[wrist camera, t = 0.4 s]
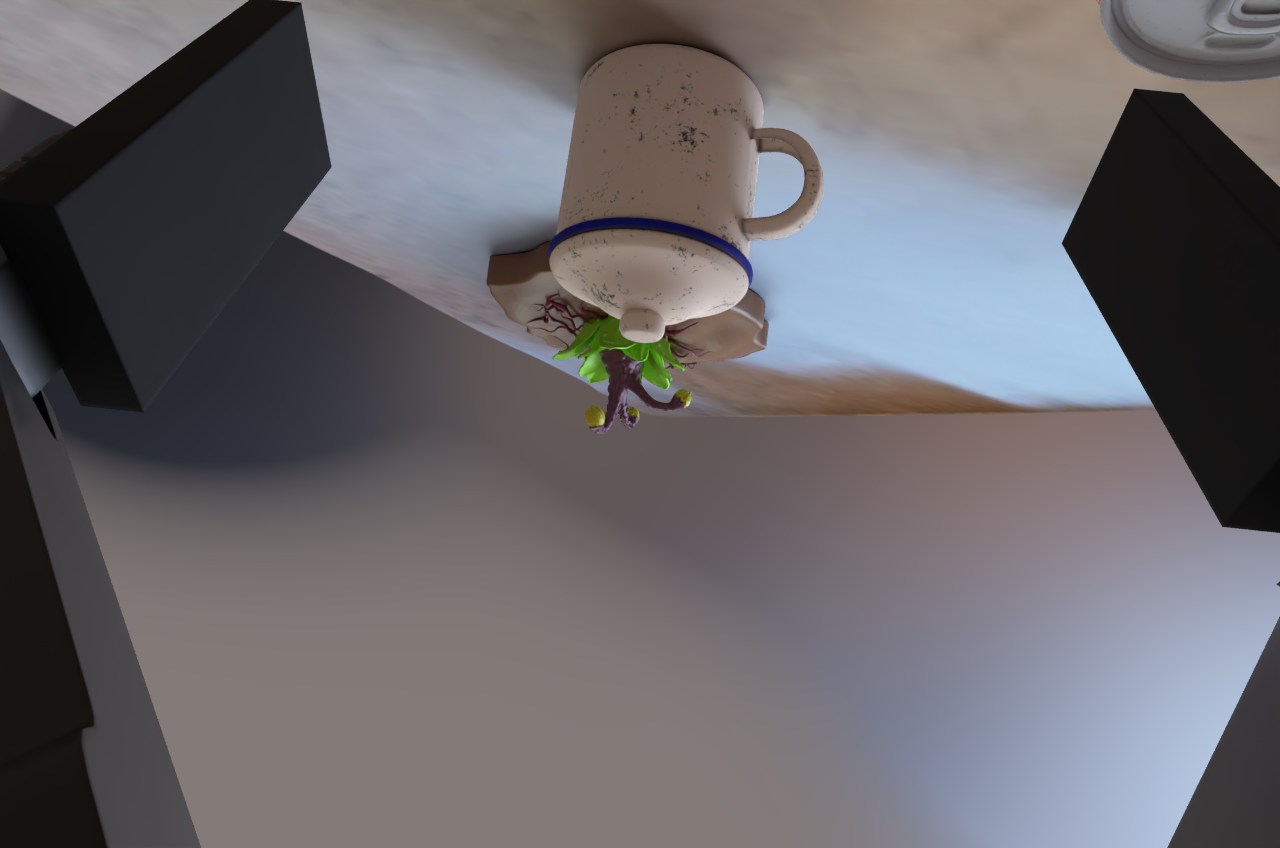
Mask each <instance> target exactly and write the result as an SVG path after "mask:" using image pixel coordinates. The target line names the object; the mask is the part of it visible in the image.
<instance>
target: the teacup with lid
mask: <svg viewBox="0 0 1280 848" xmlns="http://www.w3.org/2000/svg"><path fill="white" fill-rule="evenodd" d="M763 117H764V107H763V102H762V98H761V96H760V93H759V91H758V89H757V87H756V86H755V84H754V83H753V82H752V80H751V79H750V78H749V77H748V76H747V75H746V74H745V73H744V72H743V71H741V70H740V69H739V68H738V67H736V66H735V65H733V64H732V63H730V62H728V61H727V60H725V59H723V58H721V57H719V56H717V55H714V54H712V53H709V52H706V51H703V50H700V49H696V48H692V47H687V46H682V45H674V44H644V45H637V46H632V47H627V48H624V49H621V50H618V51H615V52H613V53H610V54H609V55H607V56H605V57H603V58H602V59H600V60H599V61H597V62H596V63H595V64H594V65H593V66H592V67H591V68H590V69H589V70H588V71H587V73H586V74H585V76H584V77H583V79H582V82H581V84H580V88H579V92H578V99H577V105H576V111H575V118H574V124H573V130H572V137H571V143H570V149H569V156H568V162H567V168H566V175H565V181H564V187H563V194H562V200H561V206H560V213H559V219H558V225H557V232H556V236H555V237H554V238H553V239H552V240H551V242H550V244H549V248H548V258H549V261H550V262H549V263H550V268H551V271H552V273H553V275H554V277H555V279H556V280H557V281H558V283H559V284H560V285H561V286H562V287H563V288H564V289H566V290H567V291H568V292H570V293H571V294H573V295H574V296H576V297H578V298H579V299H581V300H583V301H585V302H588V303H590V304H592V305H595V306H598V307H600V308H601V309H602V310H603V311H605V312H606V313H608V314H609V315H611V316H613V317H615V318H617V319H620V324H619V330H620V332H621V334H622V335H623V336H624V337H625V338H627V339H629V340H631V341H635V342H640V343H653V342H657V341H659V340H660V339H661V338H662V337H663V335H664V332H665V325H672V324H677V323H680V322H683V321H685V320H687V319H693V318H701V317H706V316H711V315H715V314H718V313H721V312H723V311H726V310H728V309H730V308H732V307H733V306H735V305H736V304H737V303H738V302H739V301H740V300H741V299H742V298H743V297H744V295H745V294H746V292H747V290H748V287H749V286H750V284H751V282H752V277H753V271H752V267H751V264H750V262H749V252H750V242H751V241H764V240H774V239H780V238H784V237H787V236H789V235H791V234H794V233H795V232H797V231H799V230H800V229H802V228H803V227H804V226H806V225H807V224H808V223H809V222H810V221H811V220H812V219H813V217H814V216H815V215H816V213H817V211H818V210H819V207H820V205H821V202H822V199H823V193H824V178H823V172H822V169H821V165H820V163H819V160H818V158H817V156H816V154H815V152H814V150H813V149H812V147H811V146H810V145H809V144H808V143H807V141H806V140H804V139H803V138H802V137H801V136H799V135H798V134H796V133H794V132H792V131H789V130H785V129H779V128H762V126H763ZM762 152H781V153H786V154H789V155H791V156H793V157H795V158H796V159H797V160H798V161H799V162H800V163H801V164H802V165H803V168H804V176H805V180H804V187H803V191H802V193H801V196H800V197H799V199H798V200H797V201H796V202H795V203H794V204H793V205H792V206H791V207H790V208H788V209H787V210H785V211H784V212H782V213H780V214H777V215H774V216H769V217H761V218H753V213H754V204H755V194H756V184H757V175H758V165H759V155H760V153H762Z"/></svg>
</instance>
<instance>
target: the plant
mask: <svg viewBox="0 0 1280 848" xmlns="http://www.w3.org/2000/svg"><path fill="white" fill-rule="evenodd" d="M549 244H550V242H546V243H544V244H542V245H540V246H539V247H538V248H536V249H535V250H533V251H531V252H526V253H520V254H510V255H499V256H491V257H490V260H489V268H488V275H487V285H488V287H489V288H490V291H491V294H492V295H493V297H494V298H495V300H496V301H497V302H498V303H499V304H500V306H501V307H502V308H503V310H504V311H505V314H506V316H507V317H508V318H509V319H511V320H512V321H514V322H516V323H518V324H521V325H523V326H526V327H527V332H528V333H530V334H532V335H536V336H538V337H540V338H542V339H544V340H545V341H546V342H547V344H548V345H551V346H553V347H556V348H561V349H564V351H559V353H558V354H556V355H554V356H553V359H554V360H555V359H557V360H565V359H570V358H572V357H574V356H576V355H578V354H579V356H578V359H582V358H584V357H585V358H586V359H585V361H584V363H583V365H582V366H581V368H580V369H579V376H586V377H587V379H588V381H589V382H590V383H595V382H600V381H604V380H606V379H608V378H609V383H610V385H609V386H608V392H609V396H608V400H609V402H608V405H607V412H606V414H605V415H604V412H603V411H602V410H601V409H600V408H599V407H598V406H591V407H590V408H589V409H588V410H586V412H585V419H586V423H587V424H588V425H589V427H590V429H592V430H593V431H595V433H597V434H598V433H599V434H603V433H605V432H606V431H609V430H610V427H611V426H612V423H613V421H614V418H616V417H617V416H618V414H620V416H621V417H620V419H621V422H622V423H623V424H624V426H625V427H626V428H628V429H630V428H633V427H634V426H635V425H636V424H637V423H638V420H639V418H640V416H639V411H638V410H637V409H636V408H633V407H630V408H627V405H628V404H627V393H628V390H627V389H629V390H631V391H632V392H634V393H635V394H636V395H637V396H638V397H639V398H640V399H641V401H643V402H644V403H645V404H647V406H648V407H652V408H653V409H658V410H662V411H667V410H672V411H674V410H676V411H677V410H679V409H684V408H685V407H687V406H688V405H689V404H690V402H691V391H687V390H684V389H681V390H678V391H677V392H676V393H675V394H674V396H673V398H672V400H671V401H670V402H669V403H662V402H659V401H656V400H654V399H653V398H652V397H651V396H650V395H649V394H648V393H647V392H646V391H645V389H644V388H643V386H642V385H641V383H642V382H641V379H642V376H643V377H644V378H645V379H647V380H648V381H649V382H650V383H652V384H654V385H656V386H659V387H661V388H663V389H665V390H666V389H668V388H669V386H670V384H669V381H668V379H669V380H672V376H671V374H670V373H669V372H668V371H667V369H668V368H670V367H671V368H672V369H675V368H677V369H680V370H685V367H686V365H687V366H689V365H691V364H694V365H695V364H700V363H703V362H719V361H723V360H727V359H734V358H741V357H744V356H747V355H749V354H751V353H753V352H756V351H760V350H763V349H765V348H766V343H767V335H768V322H767V321H765V320H764V314H765V302H764V300H763V299H762V298H761V297H760V296H759V295H757V294H756V293H754V292H752V291H751V290H750V289H749V288H748V290H747V292H746V294H745V295H744V297H743V298H742V299H741V300H740V301H739V302H738V303H737V304H736V305H735V306H733V307H732V308H730V309H728V310H726V311H723V312H721V313H718V314H715V315H711V316H706V317H701V318H693V319H687V320H685V321H683V322H680V323H677V324H672V325H665V332H664V335H663V337H662V338H661V339H660V340H659V341H657V342H653V343H640V342H635V341H631V340H629V339H627V338H625V337H624V336H623V335H622V334H621V332H620V330H619V324H620V319H617V318H615V317H613V316H611V315H609V314H608V313H606V312H605V311H603V310H602V309H601V308H600V307H598V306H595V305H592V304H590V303H588V302H585V301H583V300H581V299H579V298H578V297H576V296H574V295H573V294H571V293H570V292H568V291H567V290H566V289H564V288H563V287H562V286H561V285H560V284H559V283H558V281H557V280H556V279H555V277H554V275H553V273H552V271H551V268H550V263H549V262H550V261H549V258H548V248H549ZM689 367H690V366H689ZM690 368H691V367H690ZM693 368H694V367H693ZM693 368H691V369H693ZM667 378H668V379H667ZM618 411H619V412H618Z"/></svg>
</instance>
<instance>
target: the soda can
mask: <svg viewBox="0 0 1280 848" xmlns="http://www.w3.org/2000/svg"><path fill="white" fill-rule="evenodd" d="M1097 1H1098V3H1099V4H1100V12H1101V21H1102V25H1103V27H1104V30H1105V32H1106V35H1107V37H1108V39H1109V40H1110V42H1111V43H1112V44H1113V45H1114V47H1115V48H1116V49H1117V50H1118V52H1119V53H1120V54H1121V55H1123V56H1124V57H1125V58H1127V59H1128V60H1129V61H1130V62H1132V63H1133V64H1135V65H1137V66H1139V67H1141V68H1143V69H1145V70H1147V71H1149V72H1152V73H1155V74H1159V75H1162V76H1165V77H1169V78H1174V79H1180V80H1186V81H1193V82H1210V83H1226V82H1246V81H1255V80H1265V79H1272V78H1277V77H1280V0H1097Z"/></svg>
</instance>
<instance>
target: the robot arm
mask: <svg viewBox="0 0 1280 848" xmlns="http://www.w3.org/2000/svg"><path fill="white" fill-rule="evenodd" d="M330 168H331V162H330V157H329V152H328V146H327V141H326V135H325V130H324V124H323V119H322V114H321V108H320V103H319V97H318V92H317V86H316V81H315V76H314V70H313V65H312V59H311V54H310V48H309V43H308V38H307V32H306V27H305V21H304V16H303V10H302V5H301V3H299V2H289V1H279V0H249V1H248V2H246V3H245V4H244V5H242V6H241V7H239V8H238V9H237V10H235V11H234V12H233V13H231V14H230V15H228V16H227V17H226V18H224V19H223V20H222V21H220V22H219V23H217V24H216V25H215V26H213V27H212V28H211V29H209V30H208V31H206V32H205V33H204V34H202V35H201V36H200V37H198V38H197V39H196V40H194V41H193V42H191V43H190V44H189V45H187V46H186V47H185V48H183V49H182V50H180V51H179V52H178V53H176V54H175V55H174V56H172V57H171V58H169V59H168V60H167V61H165V62H164V63H163V64H161V65H160V66H159V67H157V68H156V69H154V70H153V71H152V72H150V73H149V74H148V75H146V76H145V77H143V78H142V79H141V80H139V81H138V82H137V83H135V84H134V85H132V86H131V87H130V88H128V89H127V90H126V91H124V92H123V93H122V94H120V95H119V96H117V97H116V98H115V99H113V100H112V101H111V102H109V103H108V104H106V105H105V106H104V107H102V108H101V109H100V110H98V111H97V112H95V113H94V114H93V115H91V116H90V117H89V118H87V119H86V120H85V121H83V122H82V123H80V124H79V125H78V126H76V127H75V128H72V129H70V130H67V131H64V132H62V133H59V134H57V135H54V136H52V137H49V138H47V139H45V140H44V141H43V142H41V143H40V144H38V145H37V146H35V147H34V148H33V149H31V150H30V151H28V152H27V153H26V154H24V155H23V156H21V161H15V162H13V163H12V164H10V165H9V166H8V167H6V168H5V169H3V170H2V171H1V172H0V848H201V846H200V843H199V840H198V837H197V834H196V831H195V829H194V825H193V822H192V820H191V817H190V814H189V811H188V808H187V805H186V802H185V799H184V796H183V793H182V790H181V787H180V784H179V781H178V778H177V775H176V772H175V769H174V766H173V764H172V760H171V757H170V755H169V752H168V748H167V745H166V742H165V740H164V737H163V734H162V731H161V728H160V725H159V722H158V719H157V716H156V713H155V710H154V707H153V704H152V701H151V698H150V695H149V692H148V689H147V686H146V683H145V680H144V677H143V674H142V672H141V669H140V665H139V662H138V660H137V657H136V654H135V651H134V648H133V645H132V642H131V639H130V636H129V633H128V630H127V627H126V624H125V621H124V618H123V615H122V612H121V609H120V607H119V603H118V600H117V598H116V594H115V592H114V589H113V585H112V583H111V580H110V577H109V574H108V571H107V568H106V565H105V562H104V559H103V556H102V553H101V550H100V547H99V544H98V541H97V538H96V535H95V532H94V529H93V527H92V524H91V520H90V517H89V514H88V511H87V509H86V506H85V503H84V500H83V497H82V494H81V491H80V488H79V485H78V482H77V479H76V476H75V473H74V470H73V467H72V464H71V461H70V458H69V456H68V452H67V449H66V446H65V443H64V441H63V438H62V435H61V432H60V429H59V426H58V423H57V420H56V417H55V414H54V411H53V409H52V408H51V405H50V404H49V402H48V400H47V398H46V396H45V394H44V392H43V390H42V388H43V387H44V386H45V385H46V384H47V382H49V380H50V379H51V378H52V377H53V376H54V375H55V374H56V373H57V372H58V371H59V370H60V369H61V368H62V369H63V371H64V373H65V375H66V377H67V379H68V381H69V383H70V385H71V387H72V388H73V391H74V393H75V395H76V397H77V399H78V401H79V403H80V404H81V406H88V407H98V408H107V409H117V410H126V411H136V412H144V411H145V410H146V408H147V407H148V406H149V404H150V403H151V402H152V400H153V399H154V398H155V396H156V395H157V394H158V393H159V391H160V390H161V389H162V387H163V386H164V385H165V384H166V382H167V381H168V380H169V378H170V377H171V376H172V374H173V373H174V372H175V370H176V369H177V368H178V366H179V365H180V364H181V363H182V361H183V360H184V359H185V357H186V356H187V355H188V354H189V352H190V351H191V350H192V348H193V347H194V346H195V344H196V343H197V342H198V341H199V339H200V338H201V337H202V335H203V334H204V333H205V331H206V330H207V329H208V327H209V326H210V325H211V324H212V322H213V321H214V320H215V318H216V317H217V316H218V314H219V313H220V312H221V310H222V309H223V308H224V307H225V305H226V304H227V303H228V301H229V300H230V299H231V298H232V296H233V295H234V294H235V292H236V291H237V290H238V288H239V287H240V286H241V284H242V283H243V282H244V281H245V279H246V278H247V277H248V275H249V274H250V273H251V271H252V270H253V269H254V267H255V266H256V265H257V264H258V262H259V261H260V260H261V258H262V257H263V256H264V254H265V253H266V252H267V250H268V249H269V248H270V247H271V245H272V244H273V243H274V241H275V240H276V239H277V237H278V236H279V235H280V234H281V232H282V231H283V230H284V228H285V227H286V226H287V225H288V223H289V222H290V221H291V219H292V218H293V217H294V215H295V214H296V213H297V211H298V210H299V209H300V208H301V206H302V205H303V204H304V202H305V201H306V200H307V198H308V197H309V196H310V195H311V193H312V192H313V191H314V189H315V188H316V187H317V185H318V184H319V183H320V181H321V180H322V179H323V178H324V176H325V175H326V174H327V172H328V171H329V170H330ZM1062 245H1063V246H1064V248H1065V250H1066V252H1067V253H1068V255H1069V257H1070V259H1071V260H1072V262H1073V264H1074V266H1075V268H1076V269H1077V271H1078V273H1079V275H1080V276H1081V278H1082V280H1083V282H1084V283H1085V285H1086V287H1087V289H1088V290H1089V292H1090V294H1091V296H1092V298H1093V299H1094V301H1095V303H1096V305H1097V306H1098V308H1099V310H1100V312H1101V313H1102V315H1103V317H1104V319H1105V320H1106V322H1107V324H1108V326H1109V328H1110V329H1111V331H1112V333H1113V335H1114V336H1115V338H1116V340H1117V342H1118V343H1119V345H1120V347H1121V349H1122V350H1123V352H1124V354H1125V356H1126V358H1127V359H1128V361H1129V363H1130V365H1131V366H1132V368H1133V370H1134V372H1135V373H1136V375H1137V377H1138V379H1139V380H1140V382H1141V384H1142V386H1143V388H1144V389H1145V391H1146V393H1147V395H1148V396H1149V398H1150V400H1151V402H1152V403H1153V405H1154V407H1155V409H1156V410H1157V412H1158V414H1159V416H1160V417H1161V419H1162V421H1163V423H1164V425H1165V426H1166V428H1167V430H1168V432H1169V433H1170V435H1171V437H1172V439H1173V440H1174V442H1175V444H1176V446H1177V447H1178V449H1179V451H1180V453H1181V455H1182V456H1183V458H1184V460H1185V462H1186V463H1187V465H1188V467H1189V469H1190V470H1191V472H1192V474H1193V476H1194V477H1195V479H1196V481H1197V483H1198V485H1199V486H1200V488H1201V490H1202V492H1203V493H1204V495H1205V497H1206V499H1207V500H1208V502H1209V504H1210V506H1211V507H1212V509H1213V511H1214V512H1215V514H1216V516H1217V518H1218V520H1219V522H1220V523H1221V525H1222V527H1230V528H1239V529H1248V530H1258V531H1267V532H1276V533H1280V187H1279V186H1278V185H1277V184H1276V183H1275V182H1274V181H1273V180H1272V179H1271V178H1270V177H1269V176H1268V175H1267V174H1266V173H1265V172H1264V171H1263V170H1262V169H1260V168H1259V167H1258V166H1257V165H1256V164H1255V163H1254V162H1253V161H1252V160H1251V159H1250V158H1249V157H1248V156H1247V155H1246V154H1245V153H1244V152H1243V151H1242V150H1241V149H1240V148H1239V147H1238V146H1237V145H1236V144H1235V143H1234V142H1233V141H1232V140H1231V139H1229V138H1228V137H1227V136H1226V135H1225V134H1224V133H1223V132H1222V131H1221V130H1220V129H1219V128H1218V127H1217V126H1216V125H1215V124H1214V123H1213V122H1212V121H1211V120H1210V119H1209V118H1208V117H1207V116H1206V115H1205V114H1204V113H1203V112H1202V111H1201V110H1200V109H1198V108H1197V107H1196V106H1195V105H1194V104H1193V103H1192V102H1191V101H1190V100H1189V99H1188V98H1187V97H1186V96H1185V95H1184V94H1182V93H1172V92H1162V91H1153V90H1143V89H1134V90H1133V92H1132V94H1131V97H1130V99H1129V101H1128V103H1127V105H1126V107H1125V109H1124V111H1123V114H1122V116H1121V118H1120V120H1119V122H1118V124H1117V126H1116V129H1115V131H1114V133H1113V135H1112V137H1111V139H1110V141H1109V144H1108V146H1107V148H1106V150H1105V152H1104V154H1103V156H1102V159H1101V161H1100V163H1099V165H1098V167H1097V169H1096V171H1095V173H1094V176H1093V178H1092V180H1091V182H1090V184H1089V186H1088V188H1087V191H1086V193H1085V195H1084V197H1083V199H1082V201H1081V203H1080V206H1079V208H1078V210H1077V212H1076V214H1075V216H1074V218H1073V221H1072V223H1071V225H1070V227H1069V229H1068V231H1067V233H1066V235H1065V238H1064V240H1063V242H1062ZM1277 585H1278V586H1280V582H1279V583H1278V584H1277ZM1168 848H1280V617H1279V619H1278V621H1277V624H1276V626H1275V628H1274V630H1273V632H1272V634H1271V636H1270V638H1269V640H1268V642H1267V644H1266V646H1265V648H1264V650H1263V652H1262V655H1261V656H1260V659H1259V660H1258V663H1257V665H1256V667H1255V669H1254V671H1253V673H1252V675H1251V677H1250V679H1249V681H1248V683H1247V685H1246V688H1245V689H1244V691H1243V693H1242V696H1241V697H1240V700H1239V702H1238V704H1237V706H1236V708H1235V710H1234V712H1233V714H1232V716H1231V718H1230V720H1229V722H1228V724H1227V726H1226V728H1225V730H1224V733H1223V735H1222V737H1221V739H1220V741H1219V743H1218V745H1217V747H1216V749H1215V751H1214V753H1213V755H1212V757H1211V759H1210V761H1209V763H1208V765H1207V767H1206V769H1205V772H1204V774H1203V776H1202V778H1201V780H1200V782H1199V784H1198V786H1197V788H1196V790H1195V792H1194V794H1193V796H1192V798H1191V801H1190V802H1189V804H1188V806H1187V809H1186V811H1185V813H1184V815H1183V817H1182V819H1181V821H1180V823H1179V825H1178V827H1177V829H1176V831H1175V833H1174V835H1173V837H1172V839H1171V842H1170V843H1169V846H1168Z"/></svg>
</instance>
